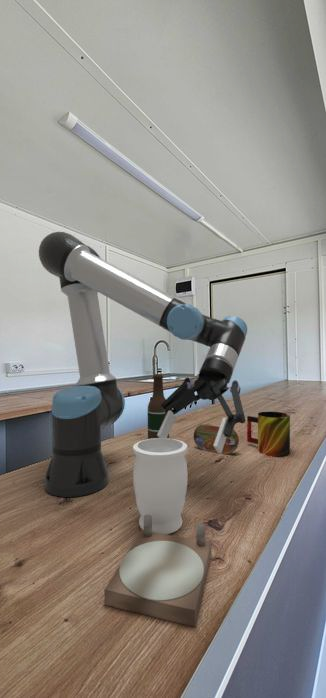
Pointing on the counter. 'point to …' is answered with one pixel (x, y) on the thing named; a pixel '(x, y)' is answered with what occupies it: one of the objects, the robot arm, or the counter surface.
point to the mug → (271, 433)
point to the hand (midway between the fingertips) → (187, 443)
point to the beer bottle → (156, 407)
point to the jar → (160, 482)
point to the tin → (207, 437)
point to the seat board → (162, 576)
